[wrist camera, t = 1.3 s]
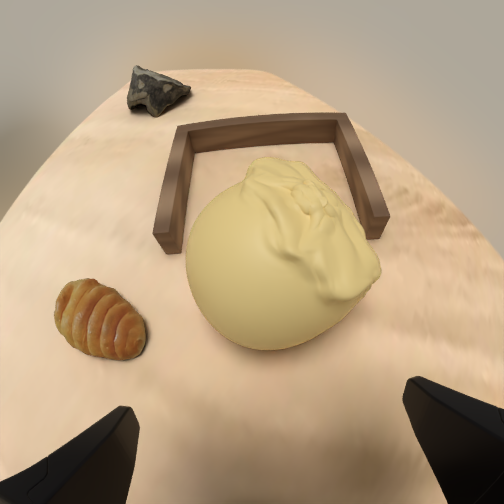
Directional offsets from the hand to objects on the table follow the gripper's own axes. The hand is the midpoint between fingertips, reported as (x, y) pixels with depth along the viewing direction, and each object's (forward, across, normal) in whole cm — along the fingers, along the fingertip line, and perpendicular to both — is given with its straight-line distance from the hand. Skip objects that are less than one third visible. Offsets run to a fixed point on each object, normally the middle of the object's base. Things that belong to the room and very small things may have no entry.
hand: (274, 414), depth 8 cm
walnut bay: (+23, -2, -6) cm, 24 cm away
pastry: (+16, +14, +4) cm, 22 cm away
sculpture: (+16, -2, +2) cm, 16 cm away
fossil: (+40, +12, -23) cm, 48 cm away
